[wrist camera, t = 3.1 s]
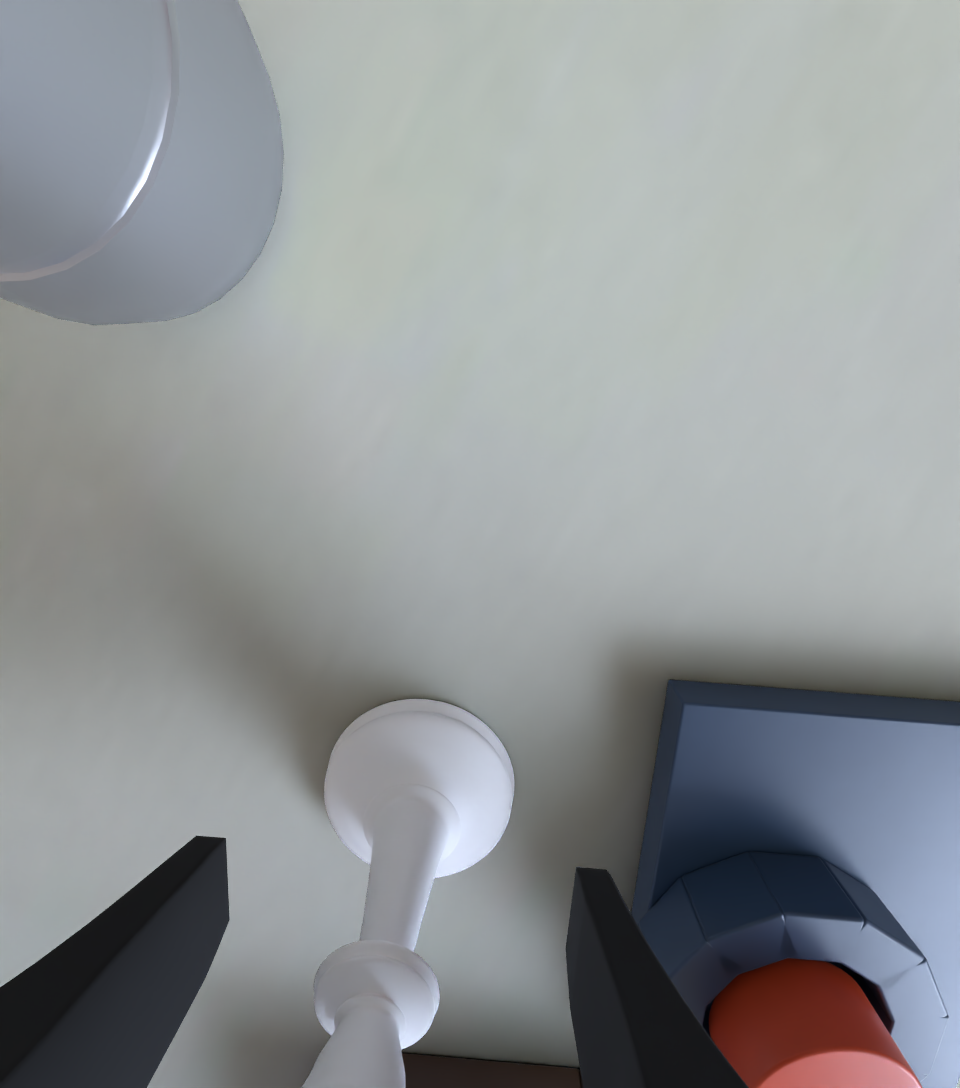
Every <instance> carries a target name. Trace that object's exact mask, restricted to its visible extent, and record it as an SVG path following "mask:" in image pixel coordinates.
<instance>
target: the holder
mask: <svg viewBox="0 0 960 1088" xmlns="http://www.w3.org/2000/svg"><path fill="white" fill-rule="evenodd" d="M402 1058H403V1063H404V1069H405V1088H583V1082H582V1076H581V1070H578V1069H577V1068H567V1067H555V1066H544V1065H532V1064H521V1063H509V1062H498V1061H486V1060H475V1059H463V1058H452V1057H440V1056H429V1055H417V1054H406V1053H402Z"/></svg>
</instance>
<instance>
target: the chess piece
mask: <svg viewBox="0 0 960 1088" xmlns="http://www.w3.org/2000/svg"><path fill="white" fill-rule="evenodd" d="M514 788H515V783H514V773H513V768H512V764H511V761H510V758H509V756H508V753H507V751H506V749H505V748H504V746H503V744H502V743H501V741H500V740H499V738H498V737H497V736H496V734H495V733H494V732H493V731H492V730H491V729H490V728H489V727H488V726H487V725H486V724H485V723H483V722H482V721H481V720H480V719H478V718H477V717H475V716H474V715H472V714H471V713H469V712H467V711H465V710H463V709H461V708H459V707H457V706H454V705H451V704H448V703H445V702H441V701H436V700H429V699H404V700H398V701H393V702H389V703H386V704H383V705H380V706H378V707H375V708H373V709H371V710H369V711H367V712H366V713H364V714H363V715H361V716H360V717H358V718H357V719H356V720H355V721H353V722H352V723H351V724H350V725H349V726H348V727H347V728H346V729H345V731H344V732H343V733H342V735H341V736H340V737H339V739H338V741H337V742H336V744H335V746H334V748H333V751H332V754H331V757H330V760H329V765H328V770H327V773H326V777H325V784H324V799H325V806H326V811H327V814H328V817H329V820H330V822H331V824H332V826H333V828H334V830H335V832H336V834H337V835H338V837H339V838H340V839H341V841H342V842H343V843H344V844H345V845H346V847H347V848H348V849H349V850H350V851H351V852H353V853H354V854H355V855H356V856H357V857H359V858H360V859H361V860H363V861H364V862H366V863H367V864H369V865H370V872H369V880H368V889H367V896H366V903H365V911H364V917H363V923H362V928H361V934H360V941H357V942H353V943H350V944H347V945H345V946H342V947H340V948H338V949H337V950H335V951H334V952H332V953H331V954H330V955H329V956H328V957H327V958H326V959H325V960H324V961H323V962H322V964H321V965H320V967H319V969H318V971H317V973H316V976H315V981H314V1009H315V1013H316V1016H317V1018H318V1020H319V1022H320V1024H321V1025H322V1027H323V1028H324V1029H325V1030H326V1031H327V1032H328V1033H329V1034H330V1035H331V1037H330V1039H329V1040H328V1042H327V1043H326V1045H325V1046H324V1048H323V1049H322V1051H321V1053H320V1054H319V1056H318V1058H317V1060H316V1062H315V1064H314V1066H313V1069H312V1071H311V1072H310V1074H309V1076H308V1078H307V1079H306V1081H305V1083H304V1084H303V1086H302V1088H405V1069H404V1063H403V1058H402V1052H401V1049H404V1048H407V1047H409V1046H411V1045H412V1044H414V1043H416V1042H417V1041H418V1040H419V1039H421V1038H422V1037H423V1036H424V1035H425V1033H426V1032H427V1031H428V1029H429V1028H430V1026H431V1024H432V1021H433V1018H434V1016H435V1014H436V1012H437V1009H438V1006H439V1001H440V989H439V984H438V981H437V978H436V976H435V974H434V972H433V970H432V969H431V968H430V966H429V965H428V964H427V963H426V962H425V961H424V960H423V959H422V958H421V957H420V956H419V955H417V954H416V953H415V952H414V949H415V945H416V942H417V938H418V934H419V929H420V926H421V922H422V919H423V915H424V912H425V908H426V905H427V901H428V898H429V894H430V891H431V888H432V885H433V881H434V878H438V877H443V876H448V875H451V874H454V873H457V872H460V871H462V870H465V869H467V868H469V867H470V866H472V865H474V864H475V863H477V862H478V861H480V860H481V859H482V858H484V857H485V856H486V855H487V854H488V853H489V852H490V851H491V850H492V849H493V848H494V847H495V845H496V844H497V843H498V841H499V840H500V838H501V837H502V835H503V833H504V831H505V829H506V827H507V824H508V821H509V818H510V814H511V808H512V802H513V797H514Z"/></svg>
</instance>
